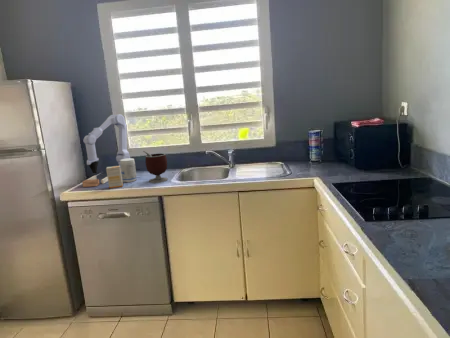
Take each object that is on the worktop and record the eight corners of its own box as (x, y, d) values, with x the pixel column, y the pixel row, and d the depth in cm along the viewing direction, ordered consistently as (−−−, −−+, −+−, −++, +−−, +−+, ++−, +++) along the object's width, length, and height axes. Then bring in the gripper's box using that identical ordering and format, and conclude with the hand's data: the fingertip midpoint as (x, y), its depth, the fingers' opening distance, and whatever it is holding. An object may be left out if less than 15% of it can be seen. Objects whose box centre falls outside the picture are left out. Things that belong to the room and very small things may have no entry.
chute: (94, 179, 254) (94, 175, 254) (112, 177, 253) (111, 174, 253) (84, 184, 239) (84, 181, 238) (103, 183, 238) (103, 179, 237)
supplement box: (123, 185, 229) (120, 165, 226) (122, 187, 224) (119, 166, 222) (110, 186, 228) (107, 166, 225) (108, 188, 223) (105, 168, 221)
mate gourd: (172, 177, 239) (169, 148, 235) (163, 183, 227) (159, 152, 222) (152, 177, 244) (148, 149, 240) (141, 183, 231) (137, 152, 227)
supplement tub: (119, 181, 241) (116, 160, 238) (132, 178, 247) (129, 157, 244) (127, 183, 234) (124, 161, 231) (139, 180, 241) (137, 158, 238)
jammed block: (86, 184, 237) (85, 179, 236) (99, 184, 236) (98, 179, 235) (83, 186, 232) (82, 181, 231) (96, 186, 231) (95, 180, 230)
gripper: (90, 151, 244) (93, 171, 247) (80, 155, 230) (84, 175, 233) (100, 151, 244) (103, 170, 247) (91, 154, 230) (94, 175, 233)
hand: (94, 173), depth 240 cm, fingers closed
